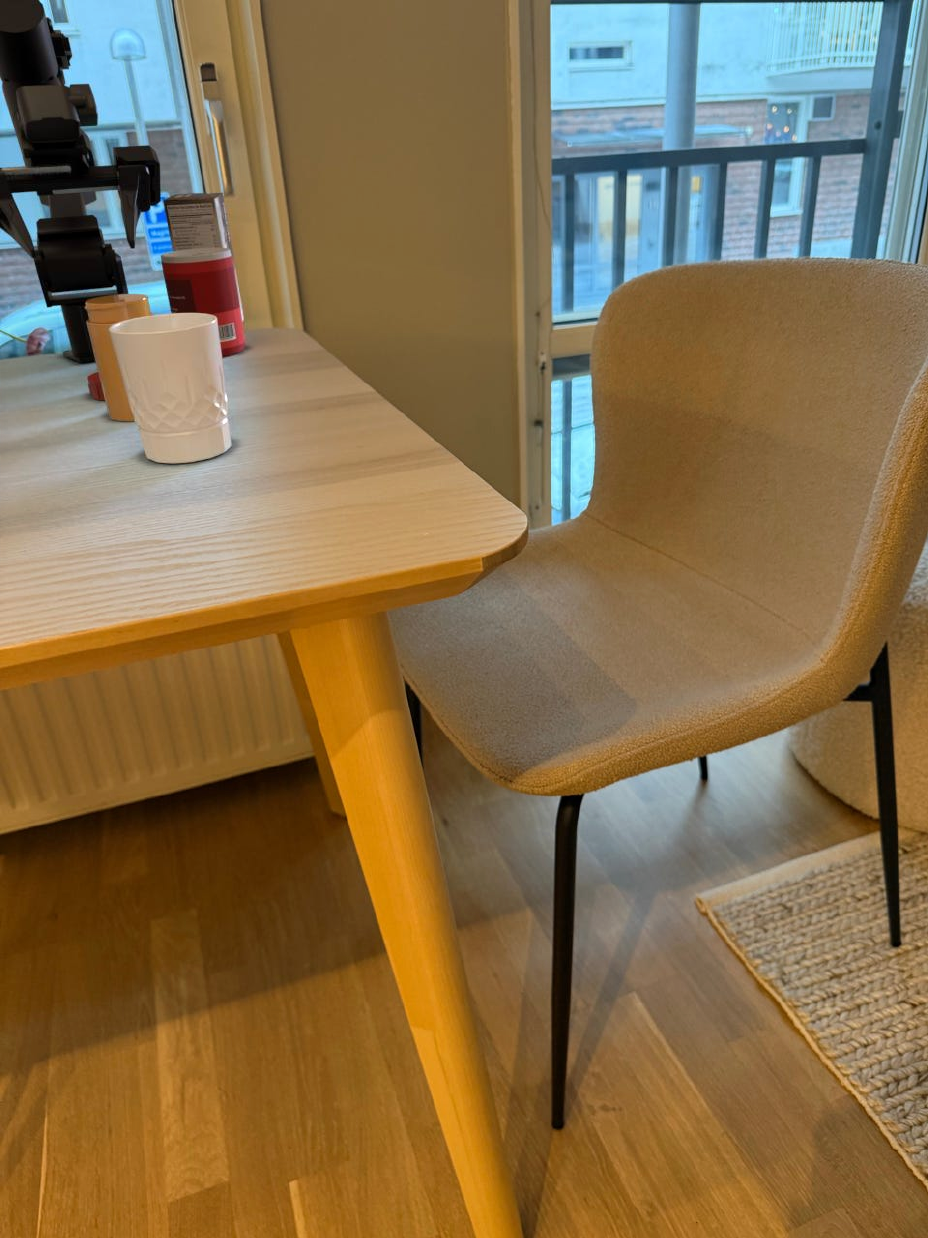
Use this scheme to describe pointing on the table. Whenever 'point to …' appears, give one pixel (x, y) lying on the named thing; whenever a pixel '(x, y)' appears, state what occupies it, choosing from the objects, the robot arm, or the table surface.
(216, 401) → the white cup
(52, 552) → the table surface
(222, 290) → the canned food
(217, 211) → the coffee box
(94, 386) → the lid
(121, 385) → the jar
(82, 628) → the table surface
